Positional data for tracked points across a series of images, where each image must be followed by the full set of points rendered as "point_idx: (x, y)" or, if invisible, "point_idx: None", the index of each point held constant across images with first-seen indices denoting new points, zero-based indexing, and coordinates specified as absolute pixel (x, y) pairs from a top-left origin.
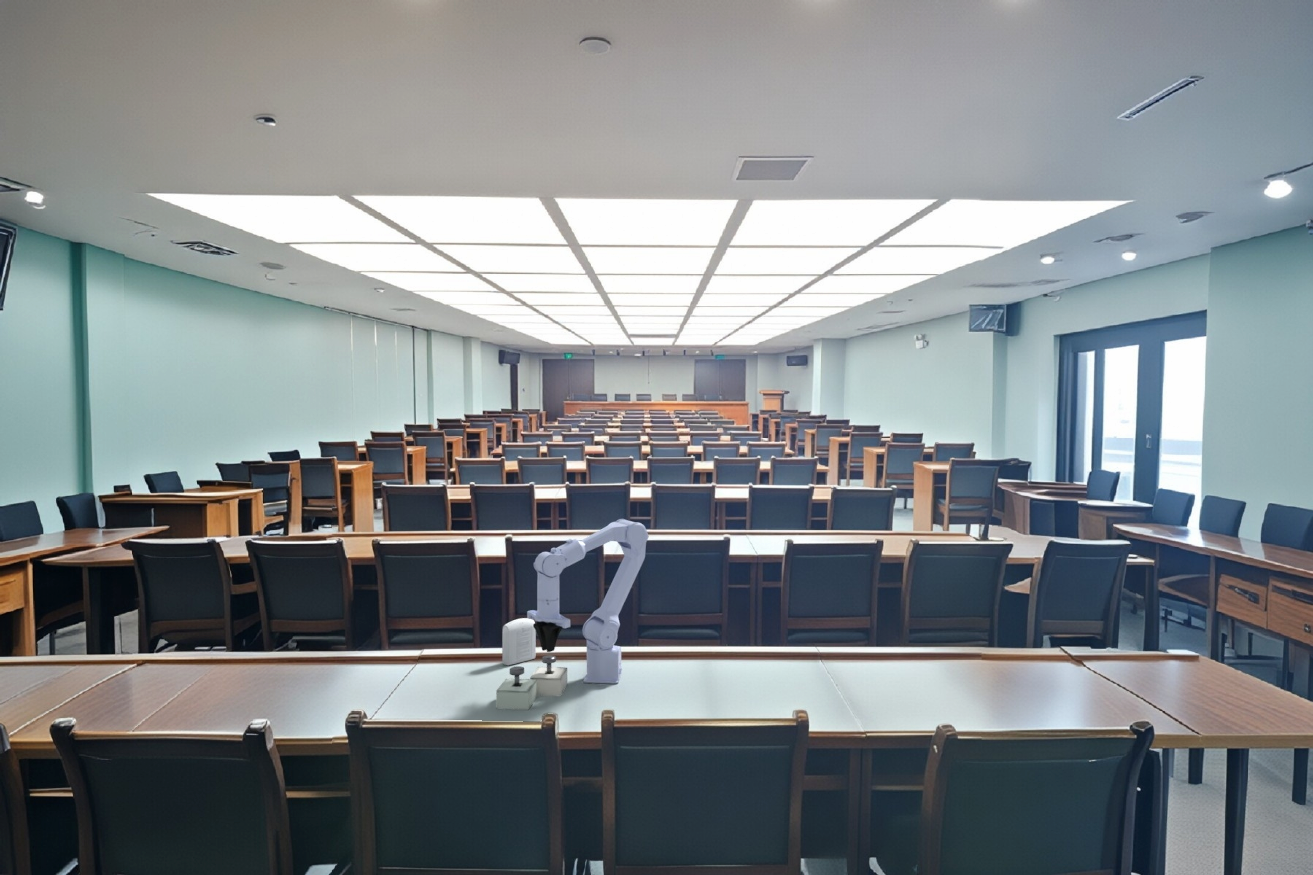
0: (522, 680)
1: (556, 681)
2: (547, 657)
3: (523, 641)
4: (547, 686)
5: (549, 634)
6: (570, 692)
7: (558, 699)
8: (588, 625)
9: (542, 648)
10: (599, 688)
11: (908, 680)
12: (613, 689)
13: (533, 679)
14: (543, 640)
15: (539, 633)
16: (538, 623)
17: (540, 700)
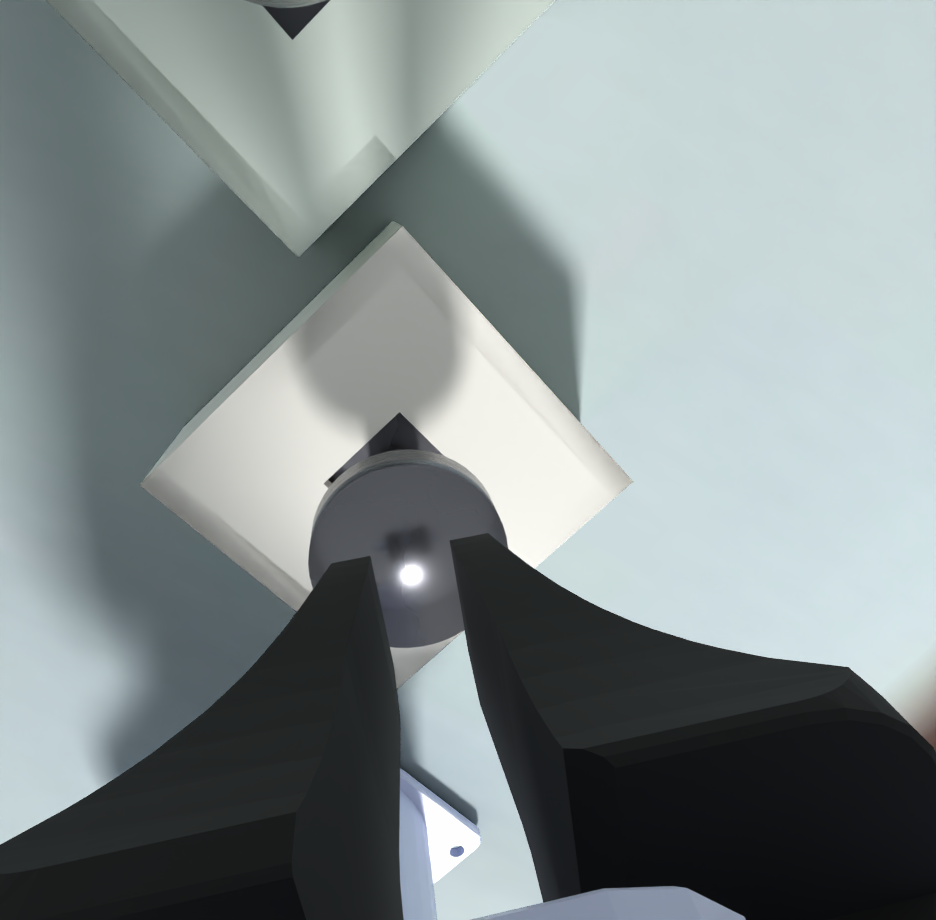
0: (381, 92)
1: (183, 439)
2: (419, 542)
3: None
4: (261, 356)
5: (116, 784)
6: None
7: (120, 366)
8: None
9: (471, 540)
10: (131, 743)
11: None
12: (41, 810)
13: (321, 224)
14: (490, 635)
15: (562, 655)
16: (833, 900)
17: (206, 221)
